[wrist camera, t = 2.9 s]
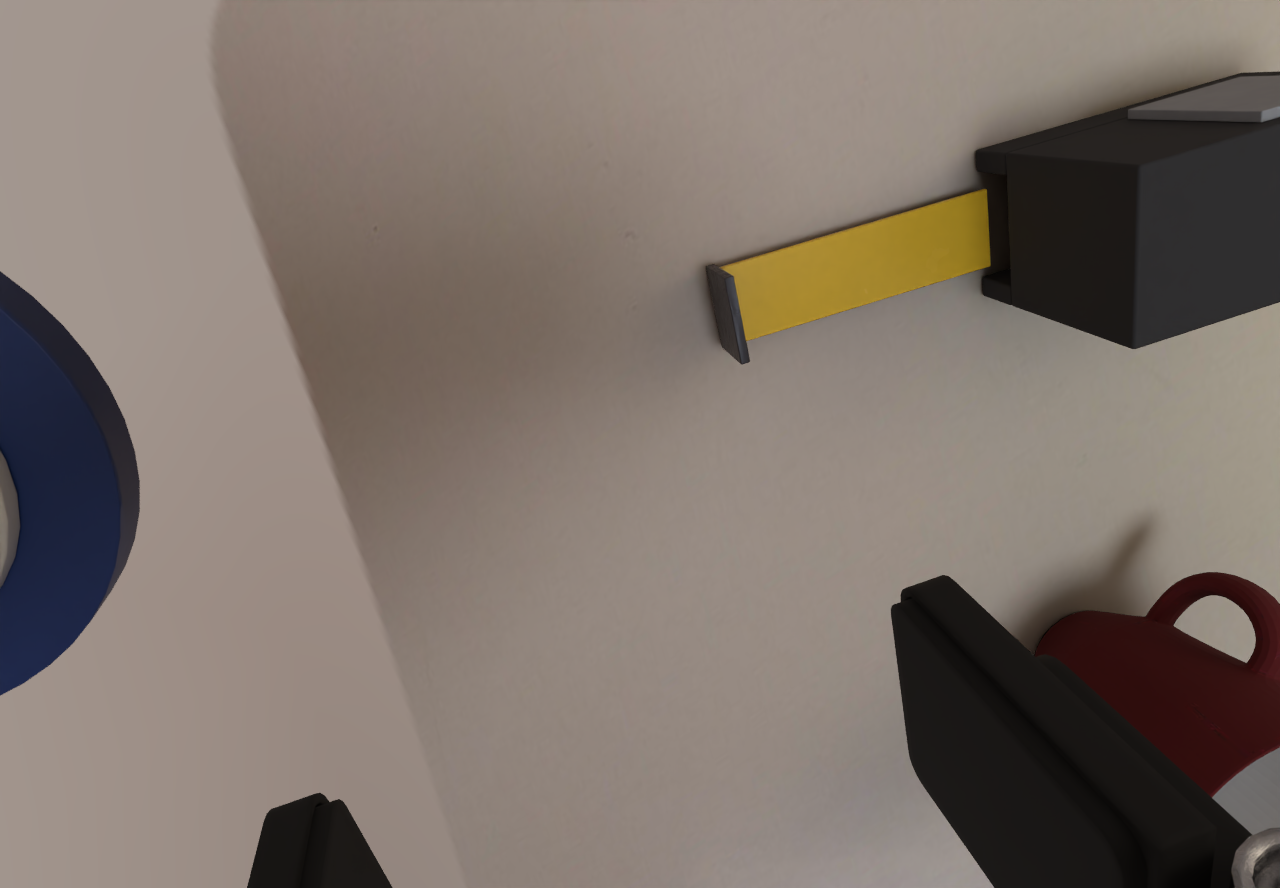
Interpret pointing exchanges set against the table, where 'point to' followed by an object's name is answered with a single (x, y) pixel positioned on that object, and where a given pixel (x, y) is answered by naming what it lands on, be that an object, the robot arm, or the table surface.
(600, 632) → the table surface
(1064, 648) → the mug
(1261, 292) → the tape case
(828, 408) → the table surface
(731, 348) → the tape blade
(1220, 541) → the table surface
